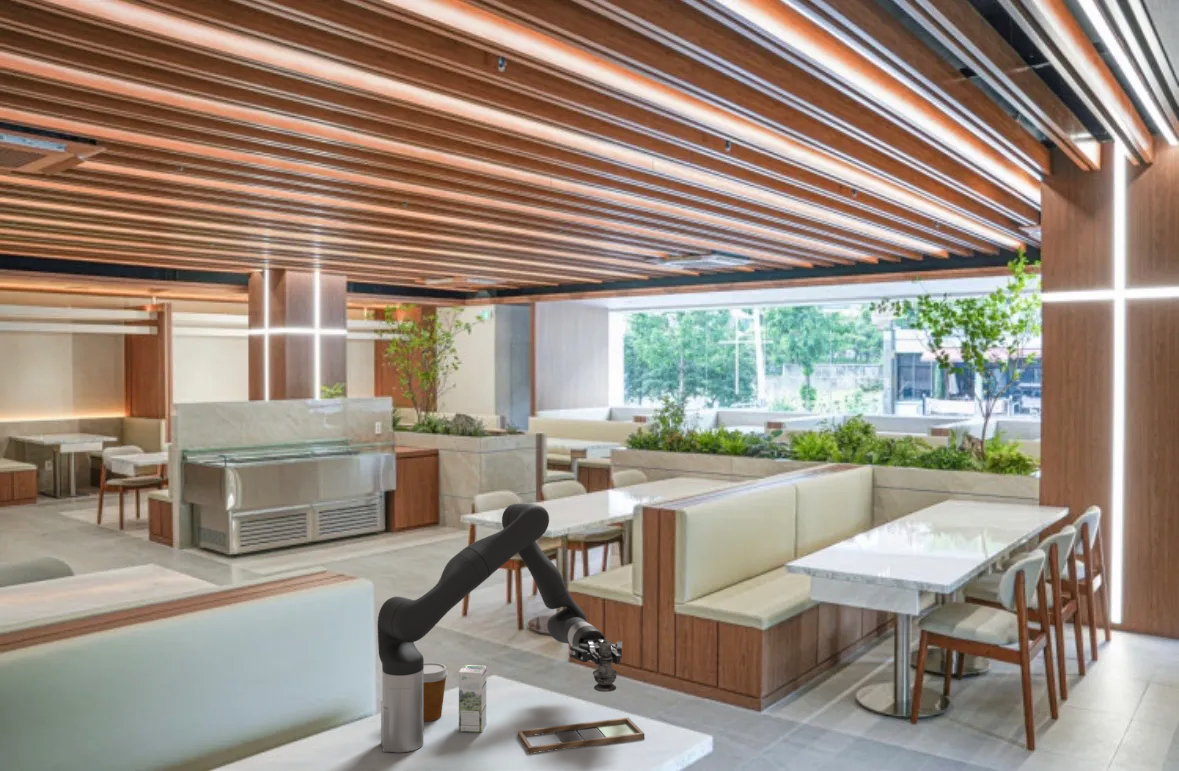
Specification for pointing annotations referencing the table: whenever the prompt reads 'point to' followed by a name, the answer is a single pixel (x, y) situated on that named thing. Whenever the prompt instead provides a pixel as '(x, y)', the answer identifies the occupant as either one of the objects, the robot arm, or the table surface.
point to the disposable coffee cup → (433, 690)
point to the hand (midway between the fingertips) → (609, 660)
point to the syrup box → (472, 698)
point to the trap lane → (585, 734)
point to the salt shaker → (605, 669)
